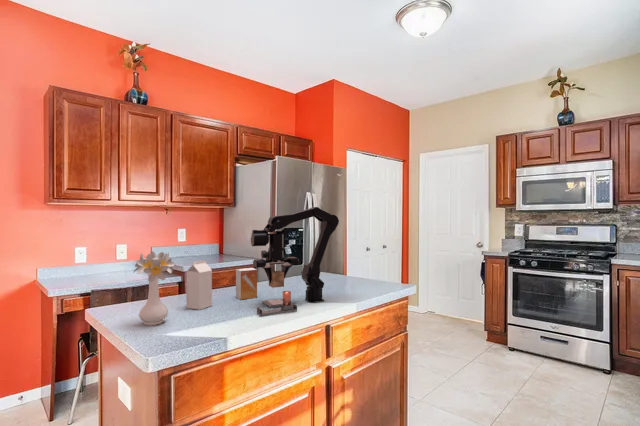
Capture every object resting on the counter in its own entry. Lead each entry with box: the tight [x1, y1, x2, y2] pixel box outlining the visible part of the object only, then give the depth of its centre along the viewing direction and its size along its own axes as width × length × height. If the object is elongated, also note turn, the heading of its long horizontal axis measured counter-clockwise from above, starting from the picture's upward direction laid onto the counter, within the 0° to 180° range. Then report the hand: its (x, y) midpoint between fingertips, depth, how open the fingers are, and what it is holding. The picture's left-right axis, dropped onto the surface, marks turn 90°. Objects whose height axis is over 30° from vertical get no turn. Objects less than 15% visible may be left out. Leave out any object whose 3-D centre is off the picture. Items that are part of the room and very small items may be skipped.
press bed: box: [262, 298, 283, 310], centre depth 152 cm, size 9×10×1 cm
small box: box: [235, 267, 258, 300], centre depth 165 cm, size 8×6×13 cm
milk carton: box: [185, 259, 213, 311], centre depth 148 cm, size 7×7×19 cm
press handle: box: [279, 290, 293, 310], centre depth 141 cm, size 4×4×6 cm
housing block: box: [268, 270, 285, 289], centre depth 152 cm, size 5×5×6 cm
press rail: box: [256, 302, 298, 318], centre depth 139 cm, size 15×4×2 cm, turn 117°
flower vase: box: [133, 250, 176, 326], centre depth 127 cm, size 13×18×25 cm
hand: (276, 282), depth 152 cm, fingers closed on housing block, 5 cm apart
